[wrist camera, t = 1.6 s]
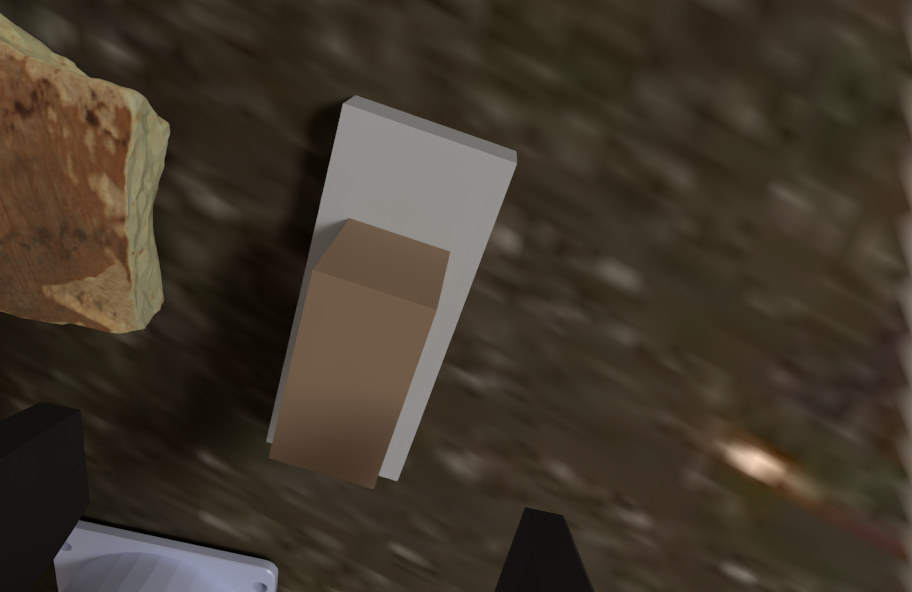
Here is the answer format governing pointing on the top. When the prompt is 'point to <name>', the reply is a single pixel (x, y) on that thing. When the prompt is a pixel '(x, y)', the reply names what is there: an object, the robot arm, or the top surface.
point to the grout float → (383, 288)
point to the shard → (76, 192)
